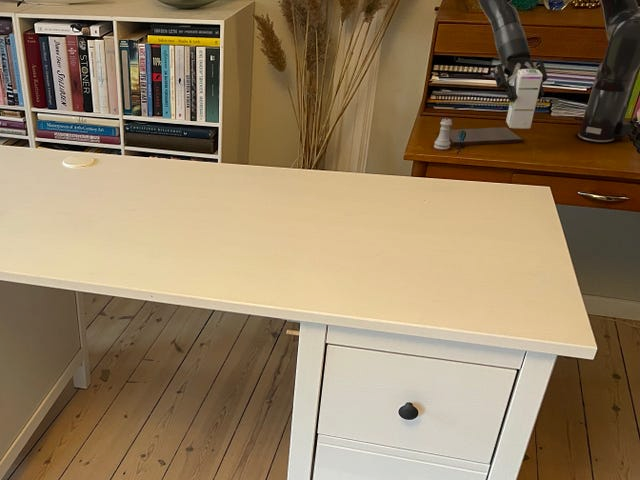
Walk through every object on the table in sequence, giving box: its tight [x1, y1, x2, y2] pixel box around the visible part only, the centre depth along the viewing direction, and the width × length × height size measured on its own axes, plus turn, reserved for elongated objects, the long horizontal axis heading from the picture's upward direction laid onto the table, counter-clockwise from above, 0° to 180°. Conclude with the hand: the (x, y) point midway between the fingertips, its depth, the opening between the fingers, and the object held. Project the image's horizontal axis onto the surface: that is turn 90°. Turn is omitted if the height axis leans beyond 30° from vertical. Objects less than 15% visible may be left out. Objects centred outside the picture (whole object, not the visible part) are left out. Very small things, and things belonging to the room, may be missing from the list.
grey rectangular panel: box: [449, 126, 523, 147], centre depth 217 cm, size 20×11×1 cm, turn 93°
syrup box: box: [505, 69, 543, 130], centre depth 201 cm, size 6×6×14 cm
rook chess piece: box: [433, 118, 453, 151], centre depth 209 cm, size 4×4×8 cm
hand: (527, 99), depth 200 cm, fingers closed on syrup box, 7 cm apart
